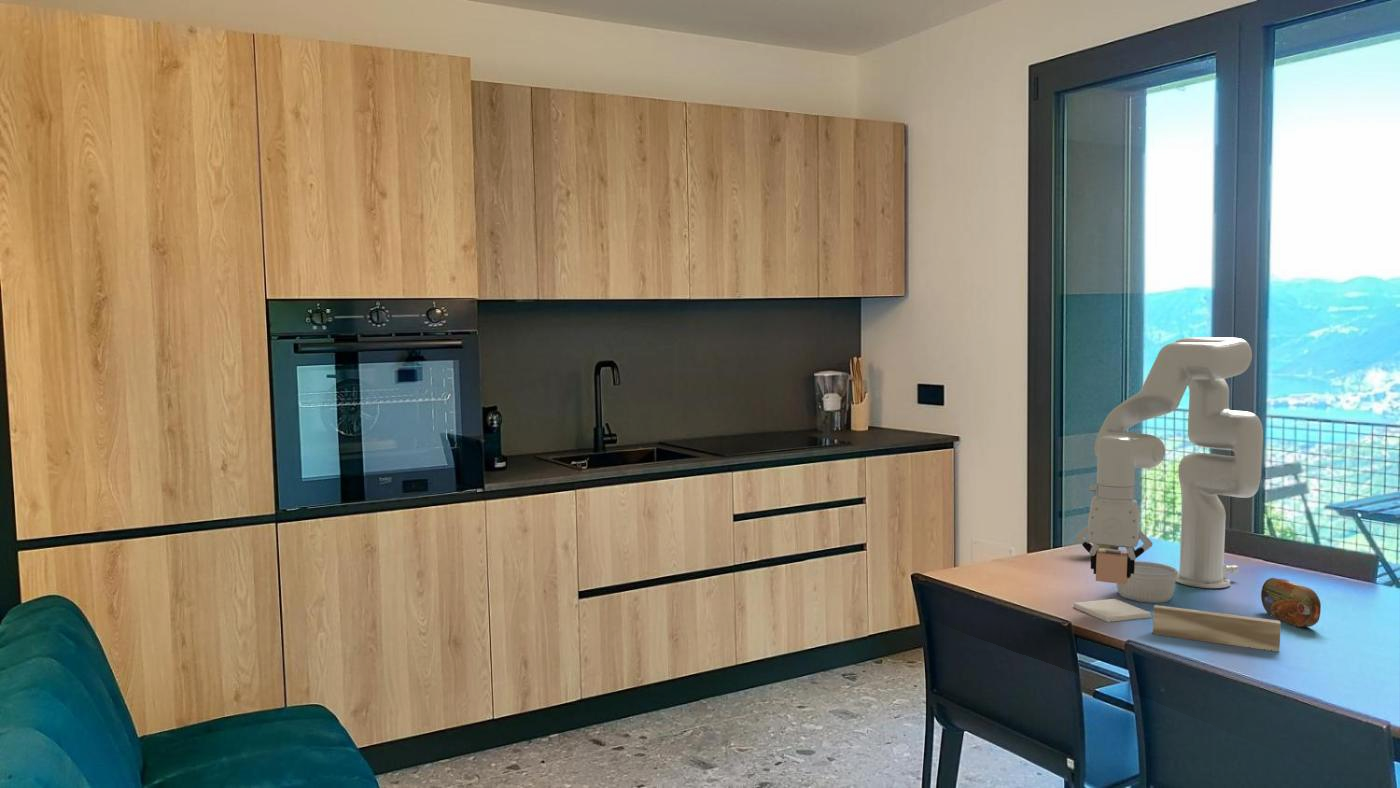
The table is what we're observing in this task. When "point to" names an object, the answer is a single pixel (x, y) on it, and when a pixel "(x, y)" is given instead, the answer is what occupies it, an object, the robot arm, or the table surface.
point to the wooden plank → (1217, 627)
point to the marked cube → (1111, 566)
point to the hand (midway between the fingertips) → (1112, 573)
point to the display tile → (1112, 610)
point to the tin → (1291, 602)
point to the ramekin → (1149, 583)
